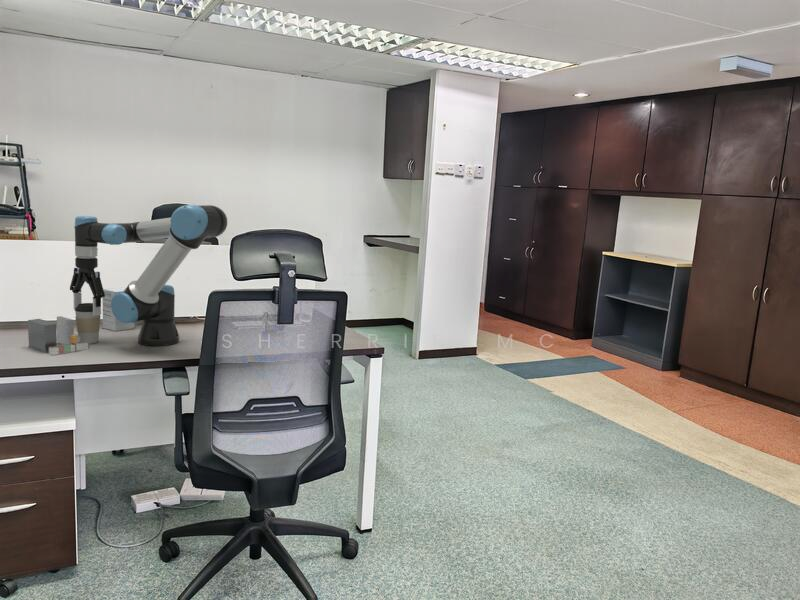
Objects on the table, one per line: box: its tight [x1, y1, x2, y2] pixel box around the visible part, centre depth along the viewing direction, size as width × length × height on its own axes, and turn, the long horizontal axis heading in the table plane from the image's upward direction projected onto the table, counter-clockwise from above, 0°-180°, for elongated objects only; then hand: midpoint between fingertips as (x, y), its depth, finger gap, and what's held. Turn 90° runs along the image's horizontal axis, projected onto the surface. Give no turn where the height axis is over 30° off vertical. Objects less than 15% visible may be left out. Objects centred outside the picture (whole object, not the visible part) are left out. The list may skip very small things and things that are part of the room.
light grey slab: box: [56, 315, 80, 345], centre depth 226 cm, size 14×2×10 cm, turn 56°
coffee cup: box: [74, 302, 101, 345], centre depth 234 cm, size 9×9×15 cm
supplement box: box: [101, 287, 136, 332], centre depth 259 cm, size 10×9×17 cm
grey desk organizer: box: [27, 318, 89, 356], centre depth 223 cm, size 17×13×10 cm
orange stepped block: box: [70, 335, 78, 343], centre depth 221 cm, size 3×1×3 cm, turn 56°
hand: (87, 312), depth 234 cm, fingers open, 13 cm apart
